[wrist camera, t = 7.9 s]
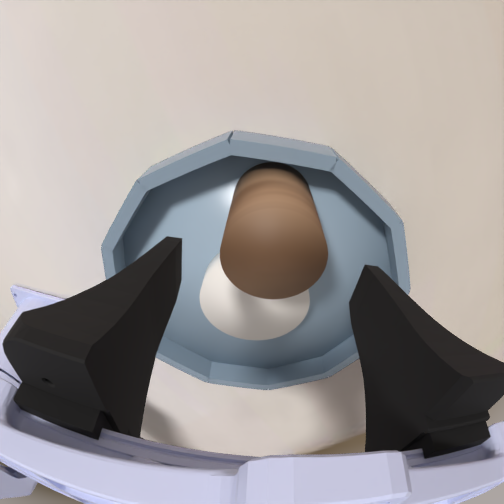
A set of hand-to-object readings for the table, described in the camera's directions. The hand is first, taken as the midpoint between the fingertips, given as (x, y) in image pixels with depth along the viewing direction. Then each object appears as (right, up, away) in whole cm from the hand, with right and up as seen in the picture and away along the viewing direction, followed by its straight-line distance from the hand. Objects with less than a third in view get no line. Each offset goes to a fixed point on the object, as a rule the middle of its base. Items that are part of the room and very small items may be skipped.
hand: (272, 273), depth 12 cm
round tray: (0, -1, +9) cm, 10 cm away
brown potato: (0, +4, +6) cm, 7 cm away
